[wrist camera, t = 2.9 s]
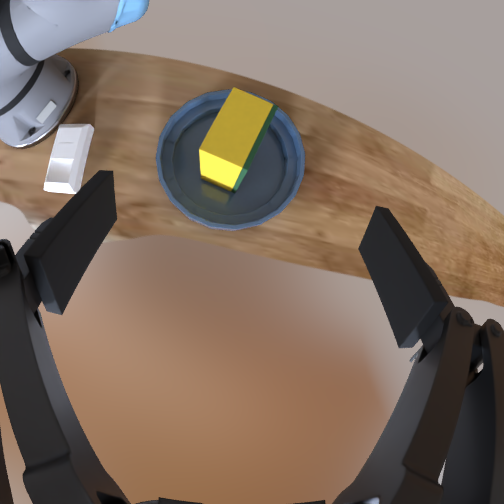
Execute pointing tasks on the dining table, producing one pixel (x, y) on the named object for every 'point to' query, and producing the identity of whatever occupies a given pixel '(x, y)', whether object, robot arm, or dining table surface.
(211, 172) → the sponge
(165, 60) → the dining table surface
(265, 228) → the dining table surface
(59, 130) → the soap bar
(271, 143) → the bowl
